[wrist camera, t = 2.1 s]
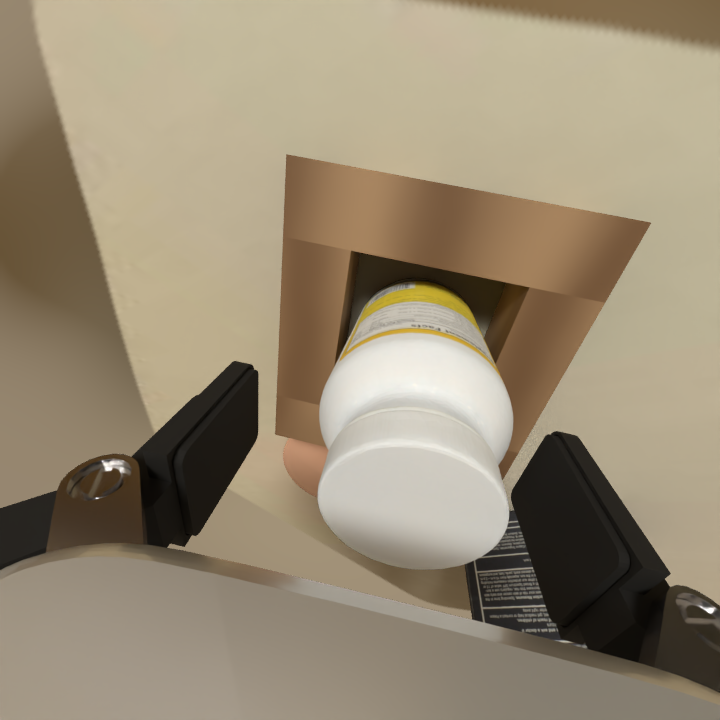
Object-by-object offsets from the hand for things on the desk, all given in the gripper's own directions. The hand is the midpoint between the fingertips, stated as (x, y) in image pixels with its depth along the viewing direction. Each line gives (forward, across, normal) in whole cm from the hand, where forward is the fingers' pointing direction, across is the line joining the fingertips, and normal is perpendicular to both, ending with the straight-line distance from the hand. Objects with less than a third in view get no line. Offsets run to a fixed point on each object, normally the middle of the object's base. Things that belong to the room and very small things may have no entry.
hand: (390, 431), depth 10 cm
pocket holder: (+9, -1, 0) cm, 9 cm away
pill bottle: (+9, -1, 0) cm, 9 cm away
